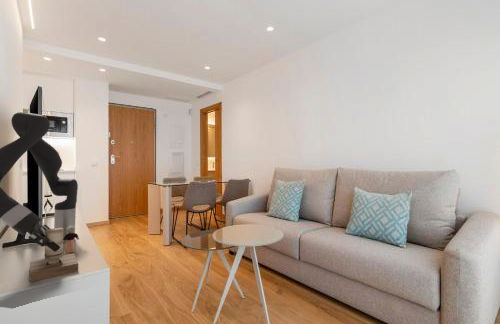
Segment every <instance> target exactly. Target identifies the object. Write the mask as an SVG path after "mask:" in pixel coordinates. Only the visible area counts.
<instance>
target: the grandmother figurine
mask: <svg viewBox="0 0 500 324" xmlns="http://www.w3.org/2000/svg"><path fill="white" fill-rule="evenodd" d="M66 230H67V231H68V234H66V236H65V237H64V238H63V242H64V241H65V240H66V242H64V243H65V246H64V252H63V255H68V254H73V253H74V254H75V253H76V251H75V240H77V241H78V240H80V237H79V235H78V233H76V232H75V233H73V232H74V230H75V231H76V226H75V227H74V226H69V227H67V229H66ZM74 238H75V239H74Z"/></svg>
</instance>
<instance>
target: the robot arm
mask: <svg viewBox="0 0 500 324" xmlns="http://www.w3.org/2000/svg"><path fill="white" fill-rule="evenodd" d="M50 125H51V124H50V120H49V119H48V118H47V117H46V116H45V115H42V114H37V113H30V112H23V111H22V112H21V111H20V112H16V113H14V114H13V115H12V117H11V126H12V128H13V130H14V132H15V133H16V134H17V136H19V138H17V139H16V140H14V141H12V142H10V143H8V144H5V145H4V146H2V147H0V183H1V182H2V180H3V178H4V177H6V175H7V174H8V173H9V172H10V171H11V170H12V168H13V167H14V165H16V163H17V162H18V160H19V159H20V158H22V156H23V155H24V154H25V153H26V152H28V151H29V152H30V153H31V155H32V157H33V158H34V160H35V162H36V164H37V166H38V167H39V169H40V170H41V173H42V174H43V176H44V177H45V180H46V182H47V185H48V187H49V189H50V191H51V193H52V195H54V196H56V197H66V198H65V199H64V200H63V201H60V202H57V203H55V204H54V220H53V221H54V222H53V223H54V224H53V229H54V228H63V238H64V237H65V236H66V234H68V231H67V230H66V229H67V227H69V226H74V227H75V228H76V217H77V216H76V214H77V213H76V208H77V201H78V200H77V199H78V189H79V188H78V187H79V186H78V182H77V179H75V178H60V177H59V176H58V173H59V172H60V170H61V168H62V165H63V160H62V158H61V156H60V154H59V152H58V151H57V149H56V148H55V147H53V146H52V145H51V144H49V143H48V142H47V141H46V140H45V139H43V138H44V137H45V135H46V134H47V133H48V132H49V129H50V127H51V126H50ZM0 220H1V221H2V222H3V223H5V224H6V225H7V226H8V227H10V228H11V229H12V230H14V231H15V232H17V233H19V234H20V235H21V236H24V235H26V234H27V233H28V234H29V236H28V237H27V238H28V239H29V240H31V241H32V242H34V243H35V244H37V245H39V246H41V247H44V248H45V246H47V247H49V248H50V249H52V250H53V251H54V252H56V251H57V250H58V249H60V246H59V245H57V244H56V243H55V242H53V241H52V240H51V239H50V238H49V235H48V234H47V233H46V232H45V231H46V230H48V229H51V227H50V226H48V225H47V224H44V225H41V224H39V223H40V222H42V218H41V217H40V216H39V215H37V214H35V212H33V211H32V210H30V209H29V208H28V207H26V206H24V205H22V204H21V203H20V202H18V201H17V200H16V199H14V198H13V197H11V196H10V195H8V193H7V192H6V191H5V190H4V189H3V188H2V187H1V186H0ZM73 233H76V229H75V230H74V232H73ZM74 240H76V238H74ZM65 243H66V240H65V241H64V242H63V245H64V244H65Z"/></svg>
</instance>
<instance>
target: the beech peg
mask: <svg viewBox="0 0 500 324" xmlns="http://www.w3.org/2000/svg"><path fill="white" fill-rule="evenodd" d="M45 232H46V233H47V234H48V235H49V238H50V239H51V240H52V241H53V242H55V243H56V244H57V245H59V246H60V249H58V250H57V251H56V252H54V251H53V250H52V249H50V248H49V247H47V246H44V259H46V260H48V265H52V264H57V263H59V258H60V257H62V256H63V255H64V244H63V228H54V227H53V228H50V229H48V230H46V231H45Z"/></svg>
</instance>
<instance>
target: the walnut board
mask: <svg viewBox="0 0 500 324" xmlns="http://www.w3.org/2000/svg"><path fill="white" fill-rule="evenodd" d="M75 272H79V261H78V259H77V257H76V255H75V253H70V254H68V255H64V254H63V256H62V257H60V258H59V263H57V264H52V265H48V260H46V259H45V258H44V259H43V258H40V259H36V260H30V261H29V283H31V282H35V281H39V280H44V279H49V278H54V277H57V276H62V275H67V274H71V273H75Z"/></svg>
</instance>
